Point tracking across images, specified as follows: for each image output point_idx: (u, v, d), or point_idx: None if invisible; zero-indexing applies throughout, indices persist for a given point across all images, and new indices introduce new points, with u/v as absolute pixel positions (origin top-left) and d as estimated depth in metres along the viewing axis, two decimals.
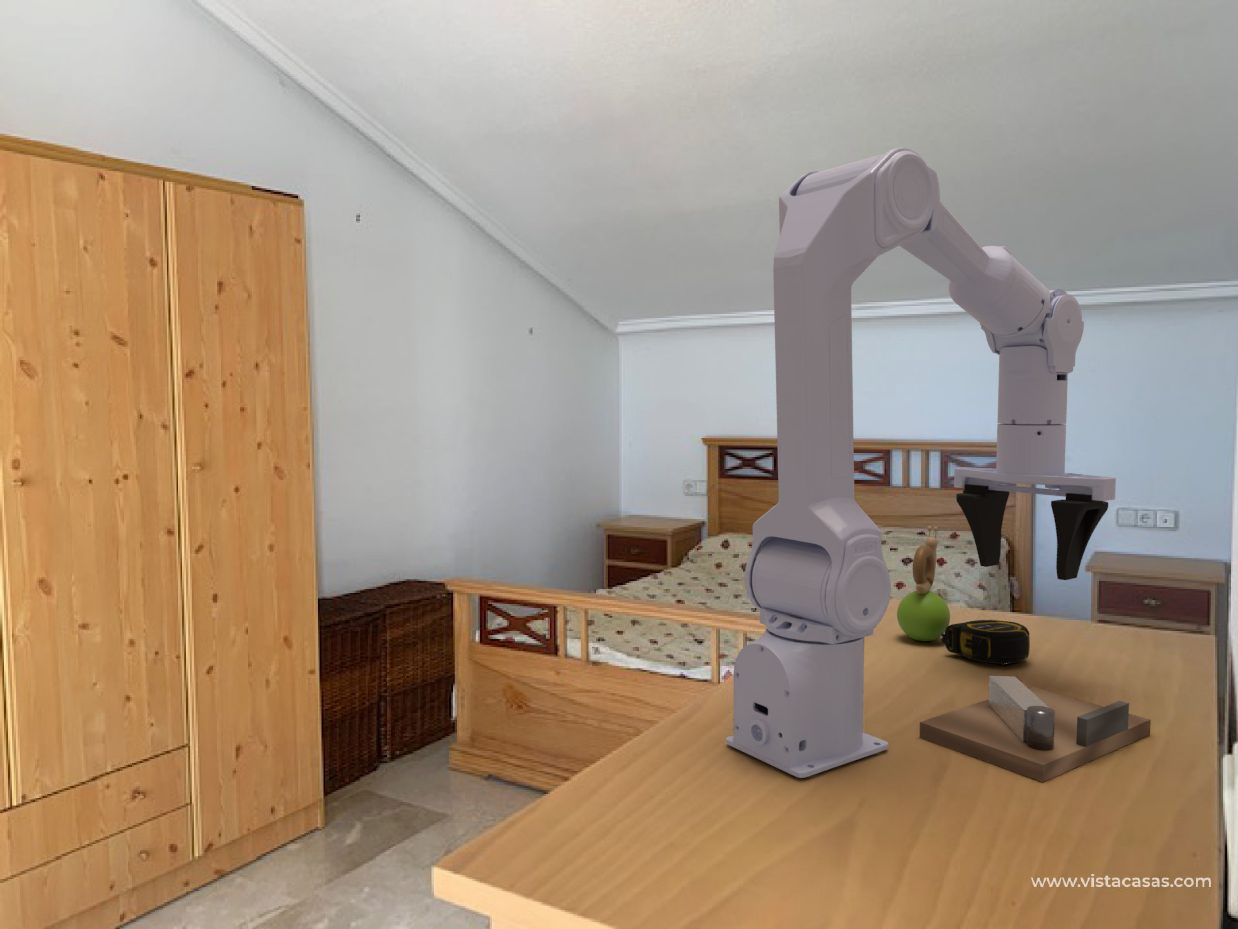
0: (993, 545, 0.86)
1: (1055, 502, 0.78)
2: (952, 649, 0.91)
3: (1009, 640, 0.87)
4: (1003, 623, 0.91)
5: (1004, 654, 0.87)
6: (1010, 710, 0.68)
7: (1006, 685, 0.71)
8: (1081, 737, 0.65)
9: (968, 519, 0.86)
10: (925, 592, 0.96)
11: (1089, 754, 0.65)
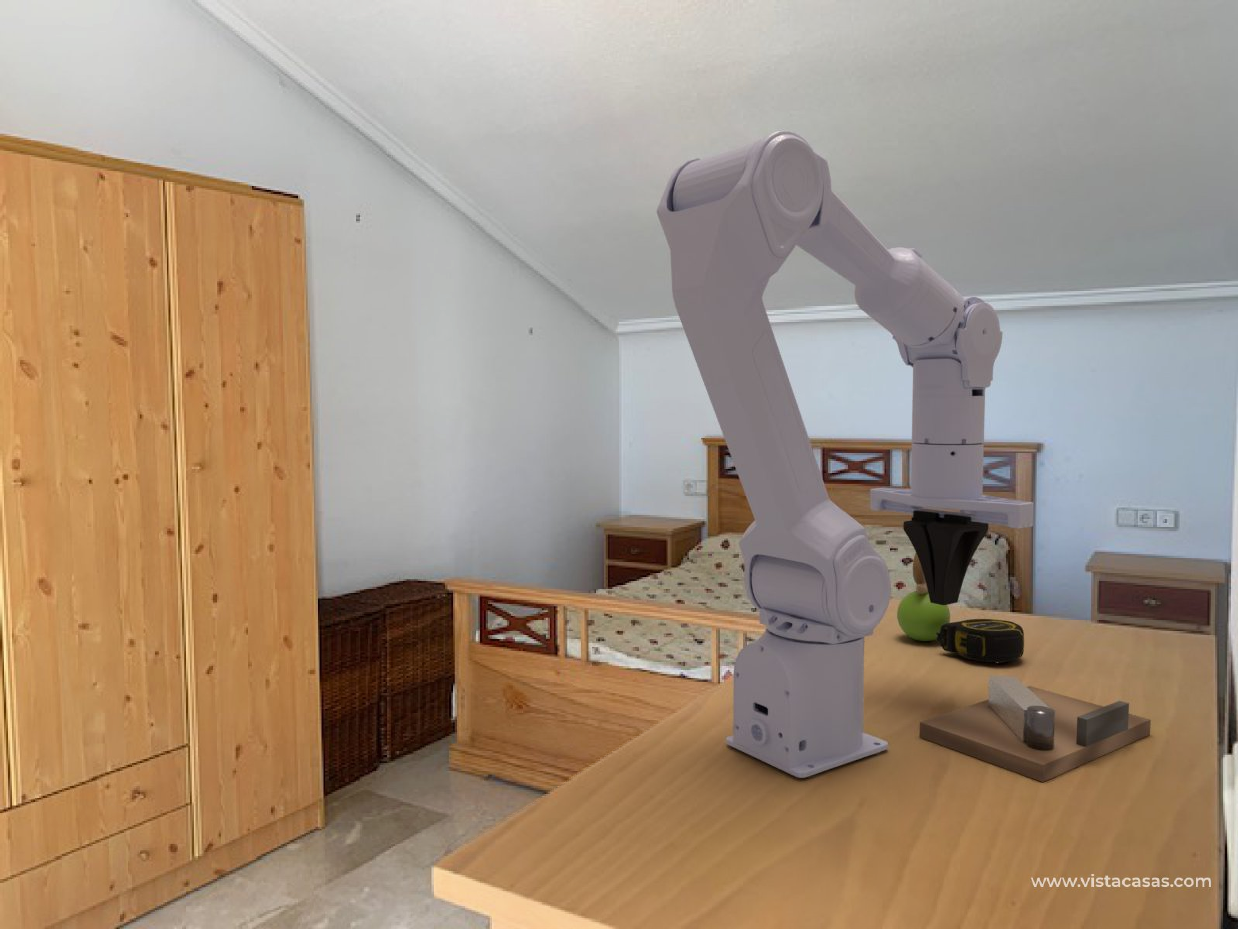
0: None
1: (930, 524, 0.74)
2: (947, 648, 0.91)
3: (1004, 639, 0.87)
4: (998, 622, 0.91)
5: (998, 652, 0.87)
6: (1010, 710, 0.68)
7: (1006, 685, 0.71)
8: (1081, 737, 0.65)
9: (916, 550, 0.76)
10: (925, 592, 0.96)
11: (1089, 754, 0.65)
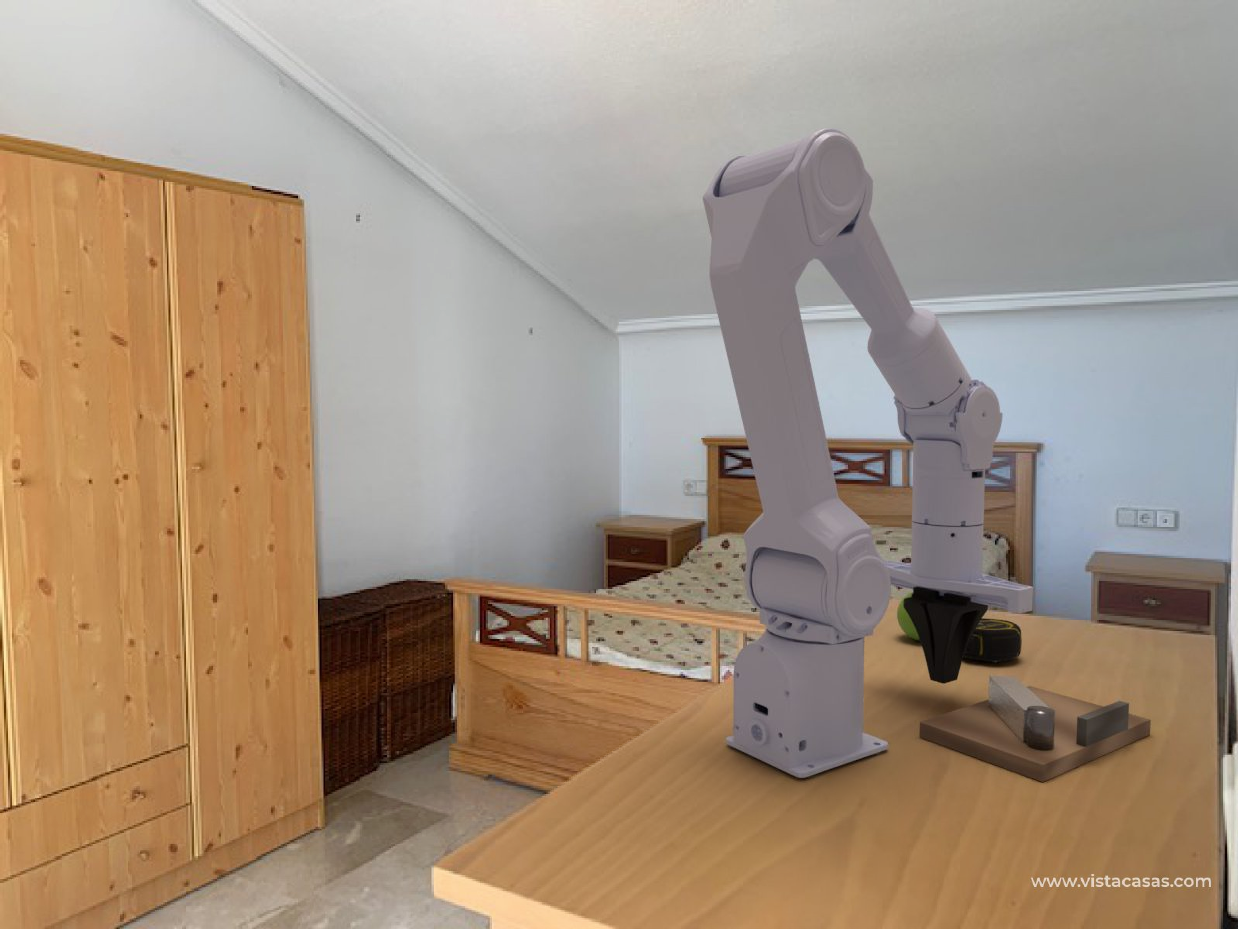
0: None
1: (930, 604, 0.74)
2: None
3: (1001, 638, 0.87)
4: (995, 621, 0.92)
5: (996, 651, 0.87)
6: (1010, 710, 0.68)
7: (1006, 685, 0.71)
8: (1081, 737, 0.65)
9: (916, 628, 0.77)
10: None
11: (1089, 754, 0.65)
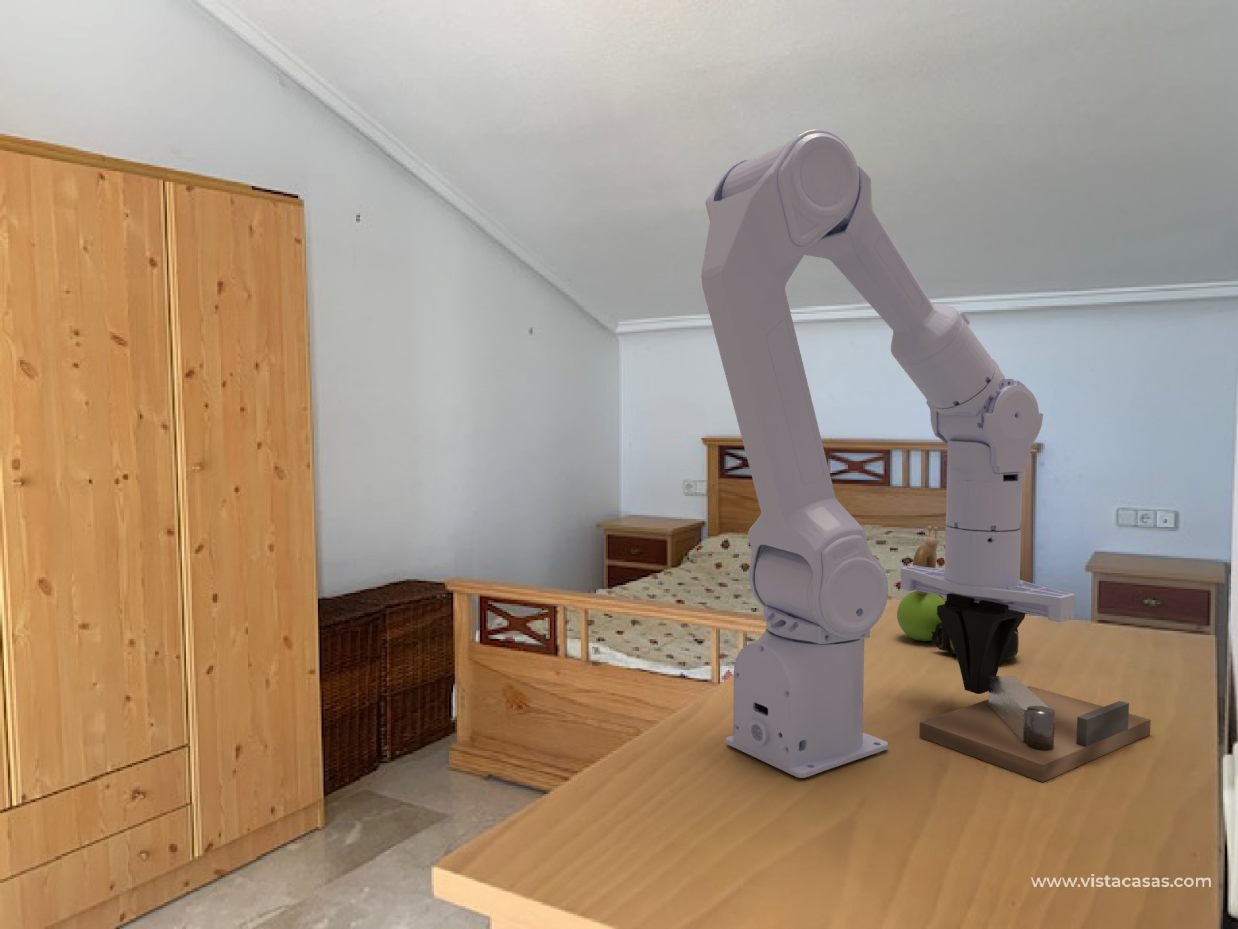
0: None
1: (966, 612, 0.72)
2: (942, 647, 0.92)
3: None
4: None
5: None
6: (1010, 710, 0.68)
7: (1006, 685, 0.71)
8: (1081, 737, 0.65)
9: (950, 636, 0.74)
10: (925, 592, 0.96)
11: (1089, 754, 0.65)
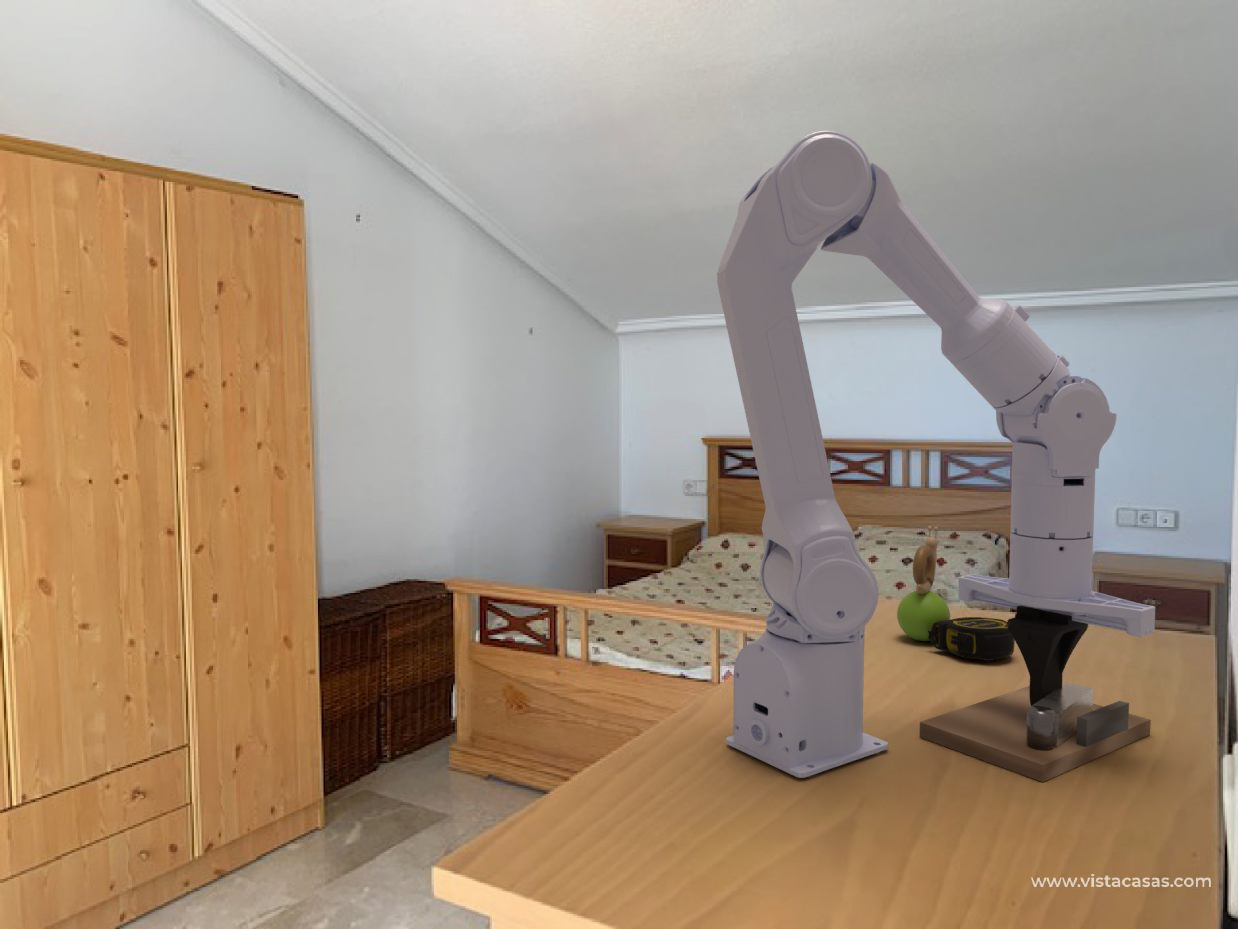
0: (1053, 683, 0.69)
1: (1027, 623, 0.68)
2: (938, 646, 0.92)
3: (994, 637, 0.88)
4: (989, 620, 0.92)
5: (989, 650, 0.88)
6: None
7: (1063, 691, 0.69)
8: (1081, 737, 0.65)
9: (1022, 652, 0.69)
10: (925, 592, 0.96)
11: (1089, 754, 0.65)
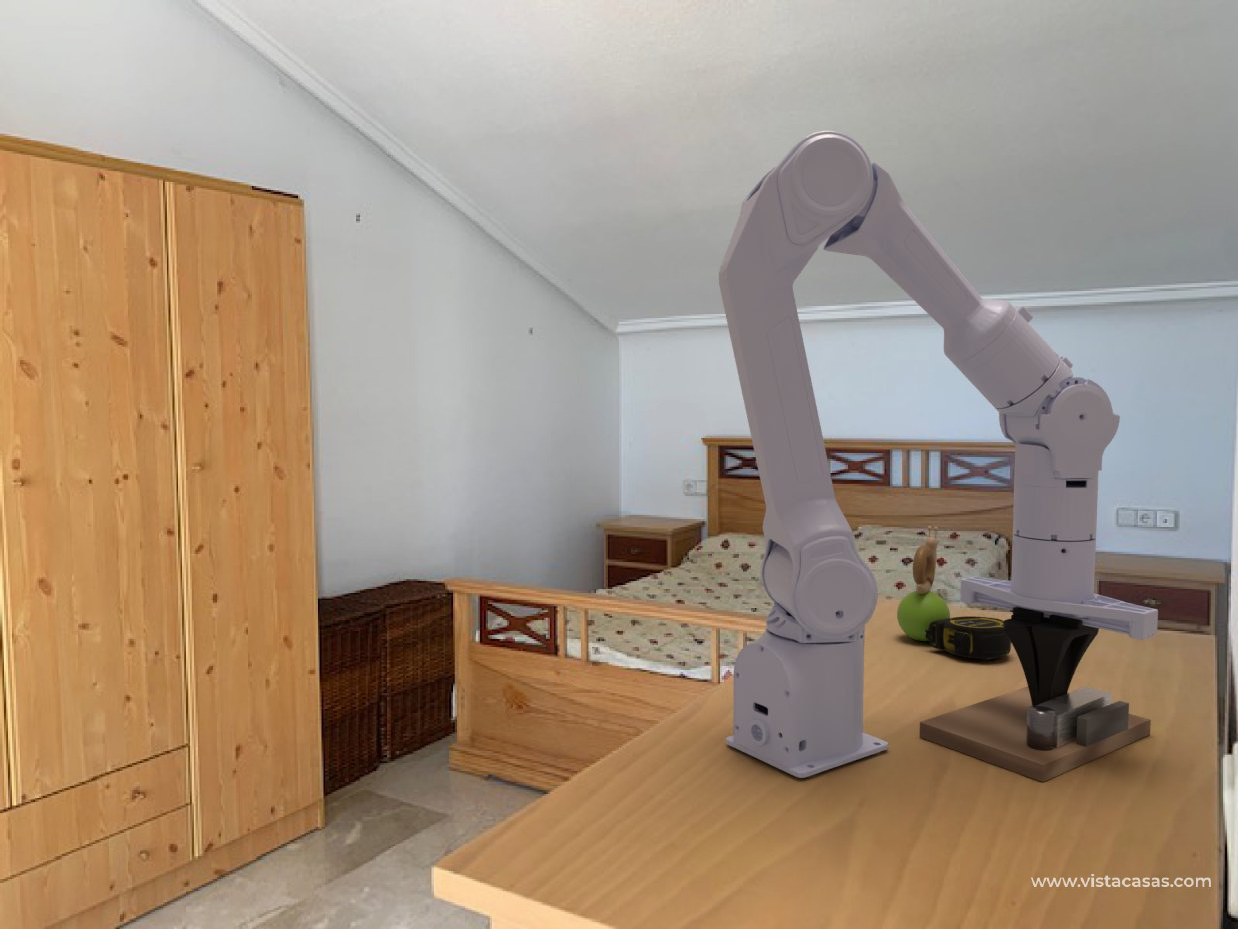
0: None
1: (1037, 628, 0.67)
2: (935, 645, 0.92)
3: (991, 636, 0.88)
4: (986, 619, 0.92)
5: (986, 649, 0.88)
6: None
7: (1077, 694, 0.68)
8: (1081, 737, 0.65)
9: (1018, 653, 0.69)
10: (925, 592, 0.96)
11: (1089, 754, 0.65)
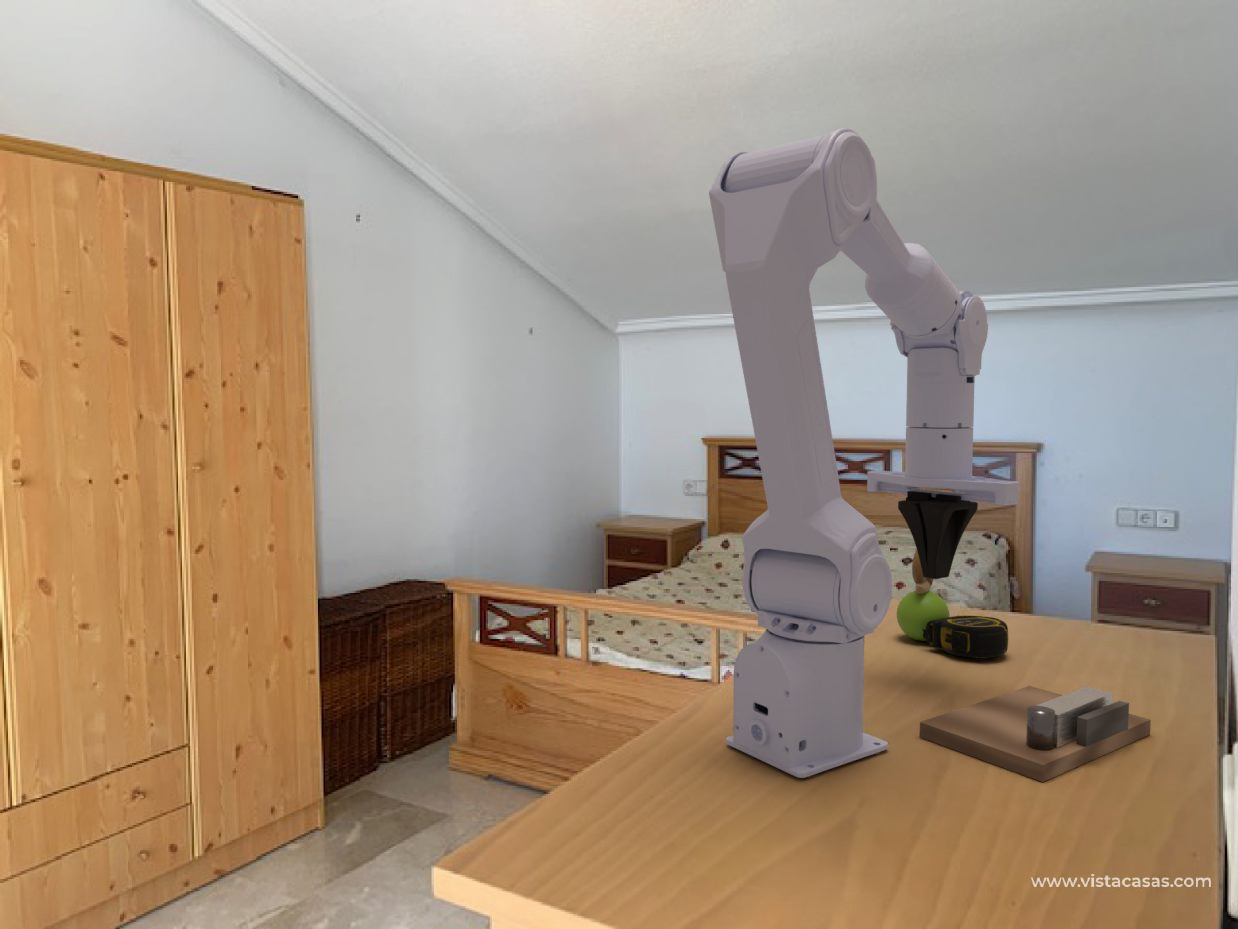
0: None
1: (923, 503, 0.79)
2: (933, 644, 0.92)
3: (988, 635, 0.88)
4: (983, 618, 0.93)
5: (983, 648, 0.88)
6: None
7: (1078, 694, 0.68)
8: (1081, 737, 0.65)
9: (910, 528, 0.82)
10: (925, 592, 0.96)
11: (1089, 754, 0.65)
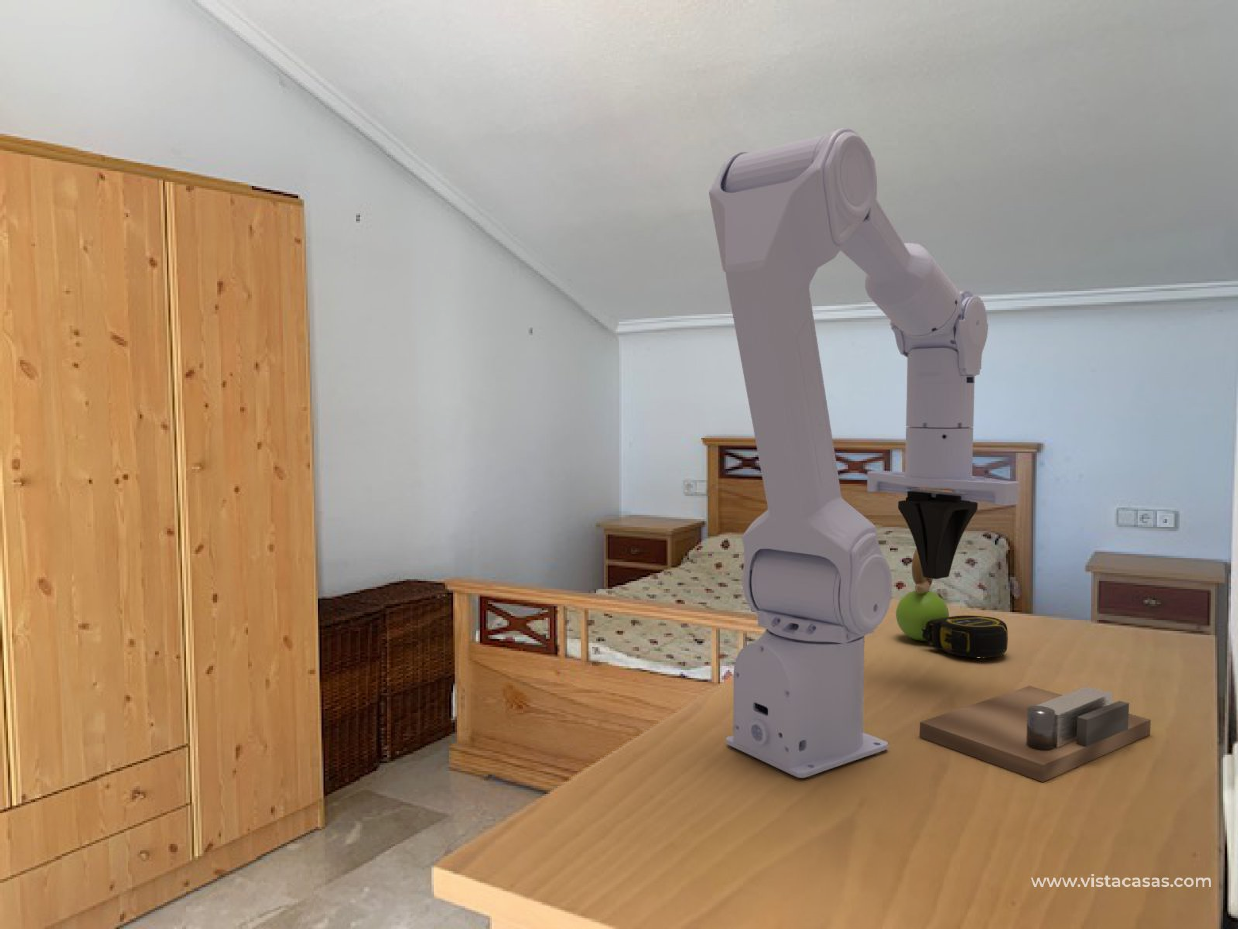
0: None
1: (923, 503, 0.79)
2: (932, 644, 0.93)
3: (988, 635, 0.89)
4: (982, 618, 0.93)
5: (983, 648, 0.89)
6: None
7: (1078, 694, 0.68)
8: (1081, 737, 0.65)
9: (910, 528, 0.82)
10: (924, 592, 0.96)
11: (1089, 754, 0.65)
